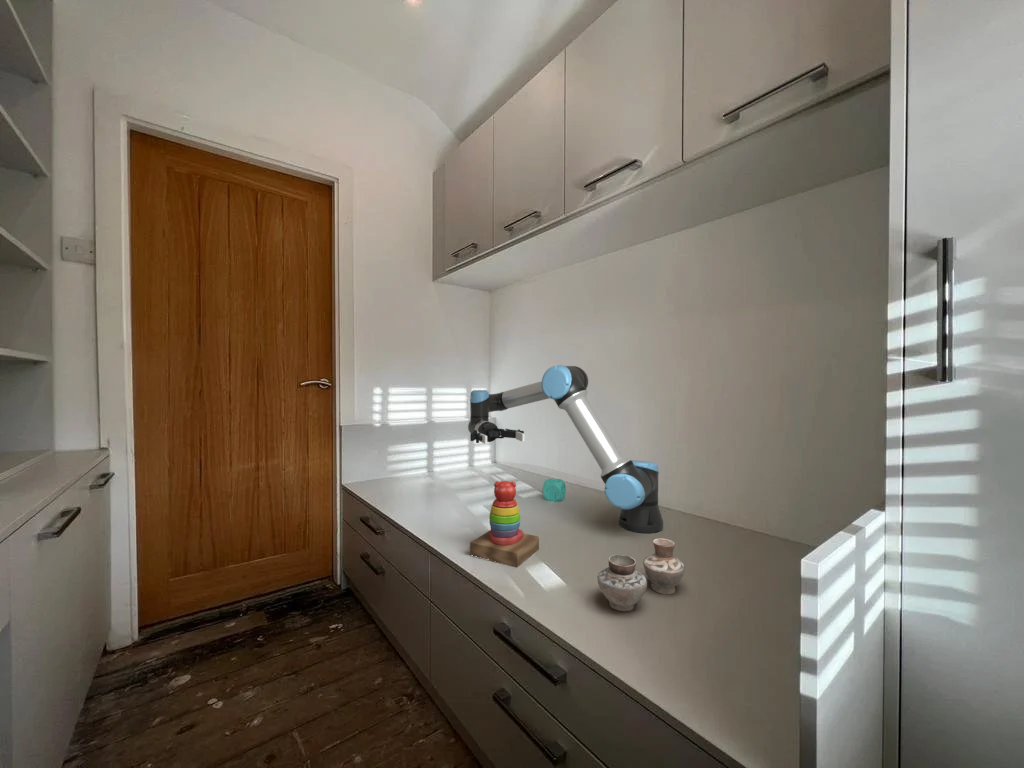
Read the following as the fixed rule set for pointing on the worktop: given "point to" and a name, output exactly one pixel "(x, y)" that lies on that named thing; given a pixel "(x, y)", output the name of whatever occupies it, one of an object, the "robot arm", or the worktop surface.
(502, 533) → the stacking bear
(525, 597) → the worktop surface
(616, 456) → the robot arm
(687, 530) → the worktop surface
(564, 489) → the decorative dice
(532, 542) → the plinth
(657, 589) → the pottery
